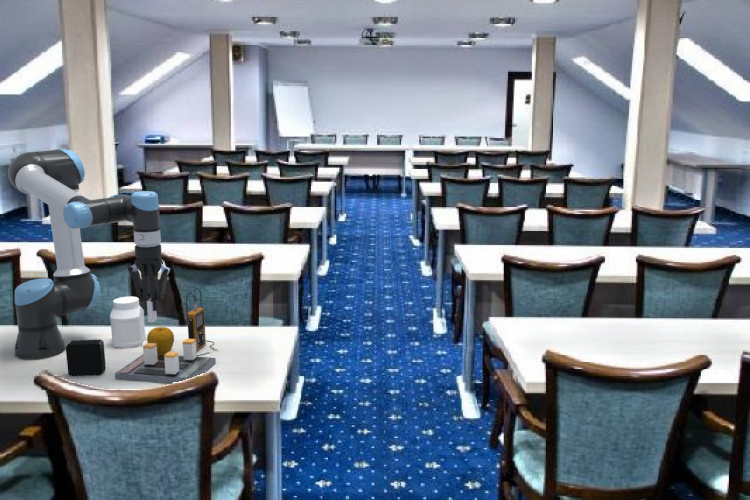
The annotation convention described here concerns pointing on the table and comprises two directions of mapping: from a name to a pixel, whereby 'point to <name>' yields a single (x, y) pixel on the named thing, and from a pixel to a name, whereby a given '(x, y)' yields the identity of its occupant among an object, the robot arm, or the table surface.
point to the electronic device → (85, 357)
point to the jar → (127, 323)
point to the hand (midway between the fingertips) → (152, 320)
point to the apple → (161, 339)
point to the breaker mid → (150, 353)
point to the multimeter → (197, 325)
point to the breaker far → (189, 349)
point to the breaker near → (171, 363)
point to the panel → (157, 371)
